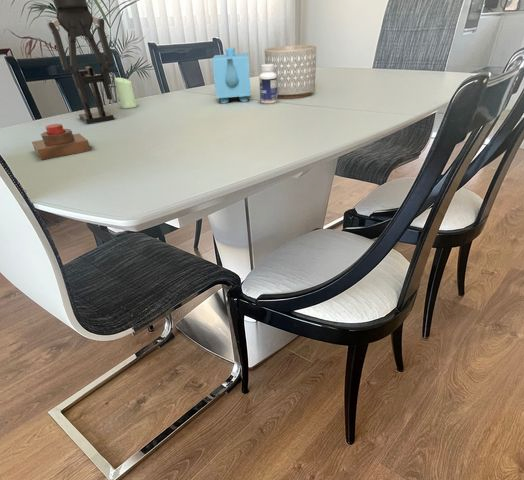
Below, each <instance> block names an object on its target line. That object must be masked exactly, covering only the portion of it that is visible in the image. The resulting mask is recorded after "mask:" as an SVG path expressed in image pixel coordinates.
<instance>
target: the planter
mask: <svg viewBox="0 0 524 480" xmlns="http://www.w3.org/2000/svg"><path fill="white" fill-rule="evenodd" d="M264 64H274V73H276V75H277V99H284V100H285V99H299V98H304V97H308V96H309V95H311V93H312V92H314V91H315V90H316V71H317V70H316V68H317V46H316V45H313V44H298V45H281V46H273V47H268V48H265V49H264Z"/></svg>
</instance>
